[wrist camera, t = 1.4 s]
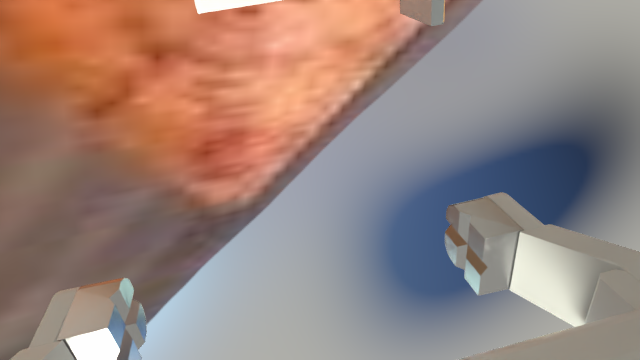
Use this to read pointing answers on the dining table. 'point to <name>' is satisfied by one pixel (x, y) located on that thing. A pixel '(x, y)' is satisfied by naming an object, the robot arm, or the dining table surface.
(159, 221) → the dining table surface
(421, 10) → the side door
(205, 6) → the white box with hole
